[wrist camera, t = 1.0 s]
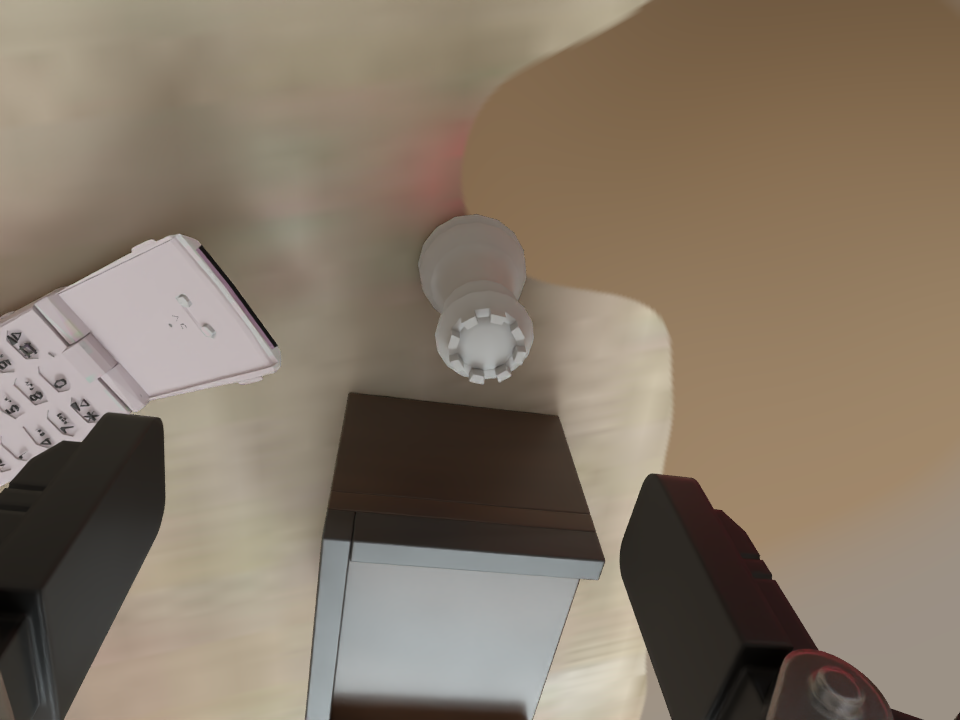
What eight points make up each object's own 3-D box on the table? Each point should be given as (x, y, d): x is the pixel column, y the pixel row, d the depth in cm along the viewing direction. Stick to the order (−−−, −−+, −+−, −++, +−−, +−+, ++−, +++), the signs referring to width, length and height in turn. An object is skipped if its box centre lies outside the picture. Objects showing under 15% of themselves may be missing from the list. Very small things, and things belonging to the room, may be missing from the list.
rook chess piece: (535, 293, 29) (571, 386, 22) (438, 324, 30) (443, 425, 23) (507, 196, 27) (536, 265, 20) (402, 230, 28) (395, 310, 21)
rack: (348, 392, 31) (321, 538, 23) (559, 415, 32) (606, 561, 24) (327, 594, 37) (300, 769, 29) (506, 607, 38) (529, 776, 30)
